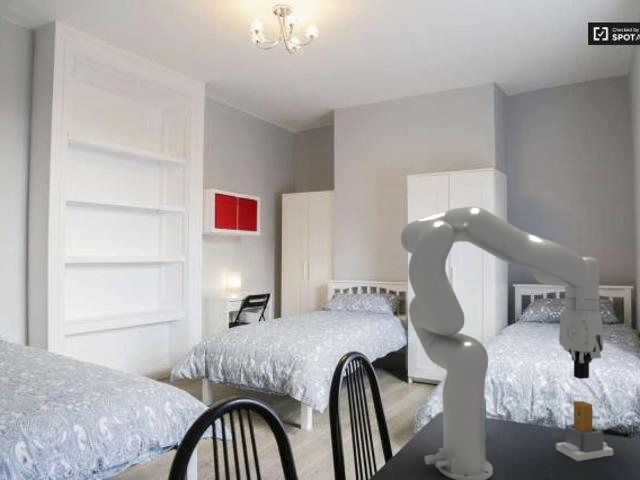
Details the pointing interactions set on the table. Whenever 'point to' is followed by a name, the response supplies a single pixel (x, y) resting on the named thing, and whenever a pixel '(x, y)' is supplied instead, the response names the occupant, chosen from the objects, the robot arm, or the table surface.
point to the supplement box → (583, 416)
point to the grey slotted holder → (584, 444)
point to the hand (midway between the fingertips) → (581, 377)
